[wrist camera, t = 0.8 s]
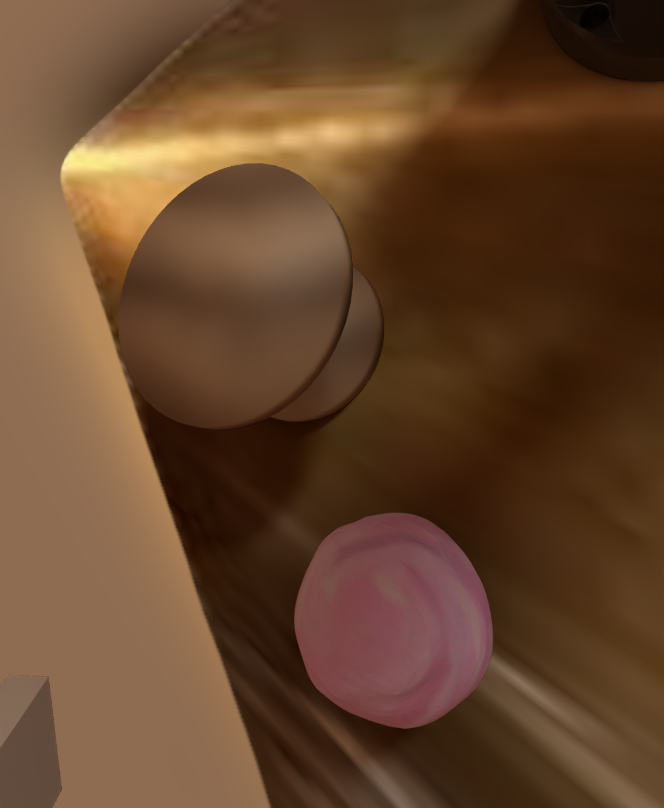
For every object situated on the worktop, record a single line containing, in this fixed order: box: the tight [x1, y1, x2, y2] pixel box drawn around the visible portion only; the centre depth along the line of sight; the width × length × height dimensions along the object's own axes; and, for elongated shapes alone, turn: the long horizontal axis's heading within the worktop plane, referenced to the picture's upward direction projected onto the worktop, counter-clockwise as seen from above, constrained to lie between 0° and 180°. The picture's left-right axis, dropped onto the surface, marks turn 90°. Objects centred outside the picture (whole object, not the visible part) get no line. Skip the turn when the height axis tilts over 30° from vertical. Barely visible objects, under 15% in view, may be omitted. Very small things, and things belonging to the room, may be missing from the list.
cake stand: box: [119, 163, 384, 430], centre depth 34 cm, size 14×14×9 cm
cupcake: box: [294, 513, 493, 729], centre depth 27 cm, size 9×9×10 cm
